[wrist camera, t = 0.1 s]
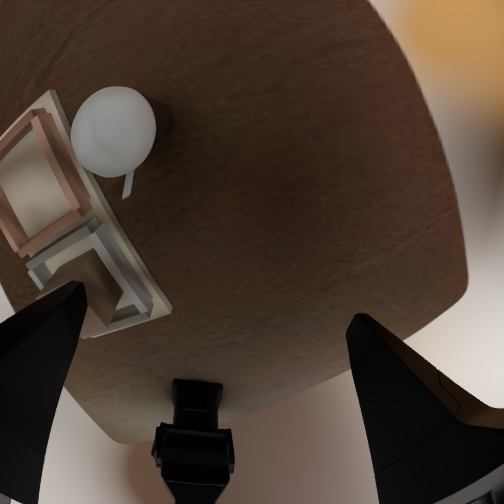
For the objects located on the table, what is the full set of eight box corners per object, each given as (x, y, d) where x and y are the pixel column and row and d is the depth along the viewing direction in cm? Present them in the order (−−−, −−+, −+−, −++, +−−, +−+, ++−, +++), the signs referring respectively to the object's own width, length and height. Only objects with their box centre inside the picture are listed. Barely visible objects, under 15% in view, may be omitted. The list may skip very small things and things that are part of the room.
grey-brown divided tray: (172, 306, 27) (163, 352, 21) (94, 331, 28) (78, 371, 23) (55, 89, 16) (10, 92, 10) (-13, 157, 17) (-53, 176, 12)
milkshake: (144, 169, 20) (88, 220, 11) (115, 111, 18) (38, 124, 9) (196, 143, 20) (170, 174, 11) (167, 81, 17) (116, 64, 8)
